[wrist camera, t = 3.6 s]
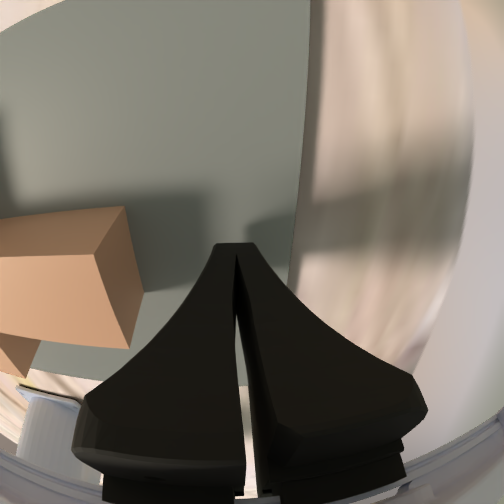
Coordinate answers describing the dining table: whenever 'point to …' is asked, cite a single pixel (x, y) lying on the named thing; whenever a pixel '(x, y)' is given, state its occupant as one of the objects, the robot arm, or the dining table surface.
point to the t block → (66, 283)
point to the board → (157, 138)
